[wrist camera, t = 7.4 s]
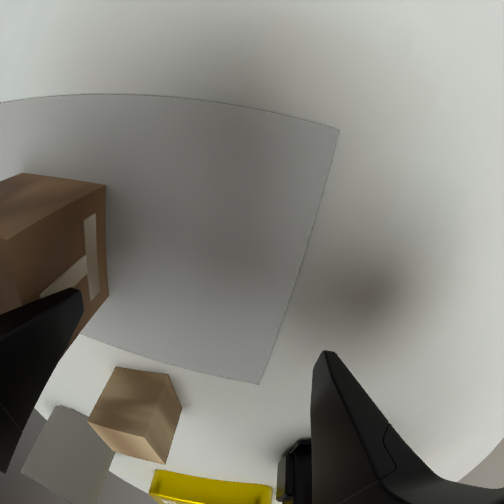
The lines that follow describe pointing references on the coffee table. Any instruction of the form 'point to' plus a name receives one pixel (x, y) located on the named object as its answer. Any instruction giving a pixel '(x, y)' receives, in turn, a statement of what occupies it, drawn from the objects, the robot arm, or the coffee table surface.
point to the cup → (69, 458)
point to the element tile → (205, 490)
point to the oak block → (137, 414)
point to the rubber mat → (184, 216)
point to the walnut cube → (52, 241)
